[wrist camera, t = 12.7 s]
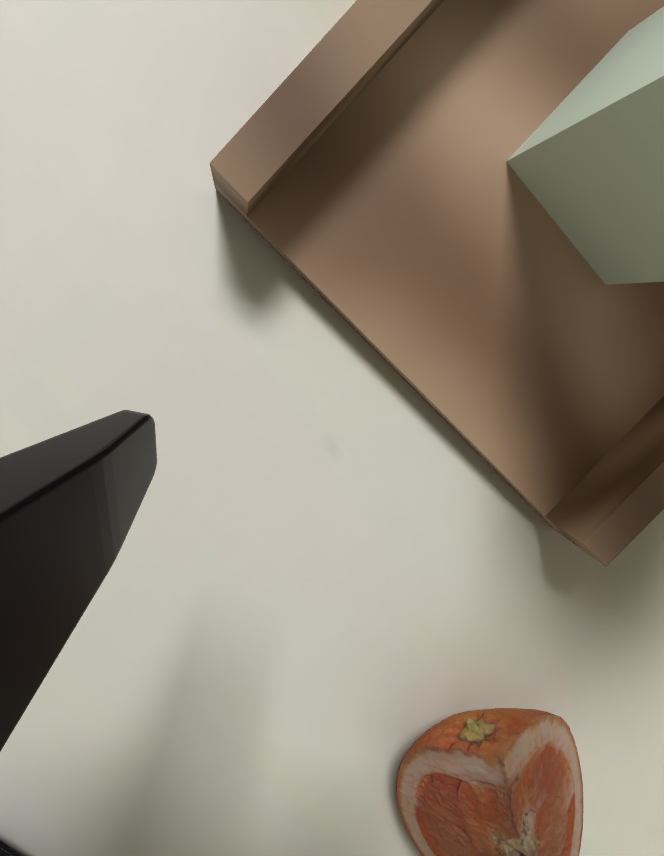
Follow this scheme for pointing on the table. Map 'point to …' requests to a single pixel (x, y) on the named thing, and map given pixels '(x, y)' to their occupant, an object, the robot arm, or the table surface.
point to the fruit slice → (493, 786)
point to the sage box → (608, 160)
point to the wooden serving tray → (468, 242)
